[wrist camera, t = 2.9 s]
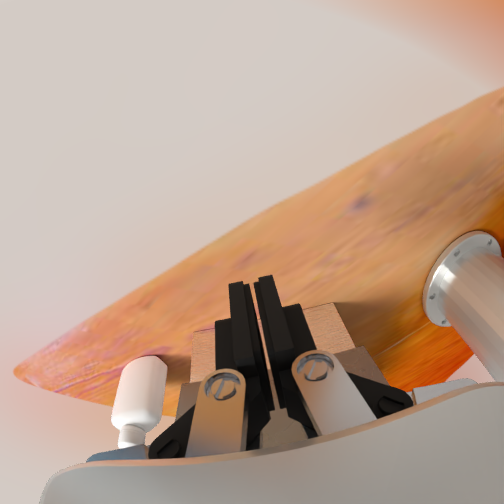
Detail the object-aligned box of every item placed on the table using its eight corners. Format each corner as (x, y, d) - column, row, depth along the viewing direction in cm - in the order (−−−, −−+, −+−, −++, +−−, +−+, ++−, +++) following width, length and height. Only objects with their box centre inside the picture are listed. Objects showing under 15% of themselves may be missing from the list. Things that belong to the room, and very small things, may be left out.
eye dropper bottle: (172, 380, 33) (164, 472, 22) (126, 379, 33) (108, 467, 22) (165, 353, 31) (152, 452, 20) (116, 353, 31) (91, 446, 20)
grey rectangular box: (355, 296, 30) (388, 350, 23) (353, 372, 36) (374, 422, 28) (170, 336, 30) (161, 398, 23) (204, 404, 36) (204, 458, 28)
